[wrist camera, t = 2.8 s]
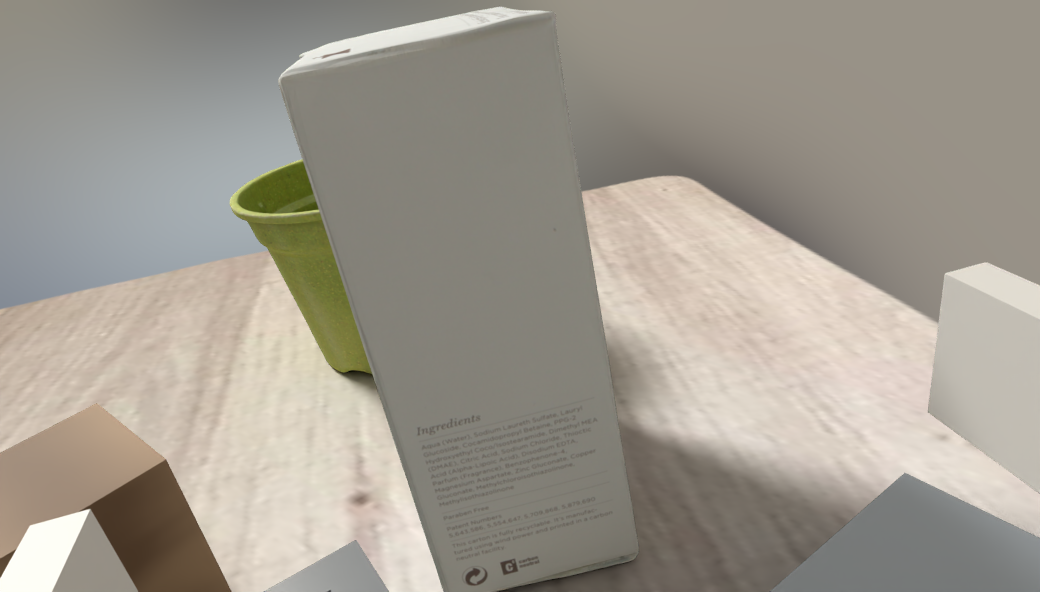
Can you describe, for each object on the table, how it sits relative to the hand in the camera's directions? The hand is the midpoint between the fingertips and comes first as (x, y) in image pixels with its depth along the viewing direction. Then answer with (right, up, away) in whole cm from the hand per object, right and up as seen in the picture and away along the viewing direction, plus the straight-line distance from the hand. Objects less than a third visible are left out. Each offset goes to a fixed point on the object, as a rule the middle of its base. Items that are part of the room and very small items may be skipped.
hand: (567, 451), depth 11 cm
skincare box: (-1, -4, +13) cm, 13 cm away
